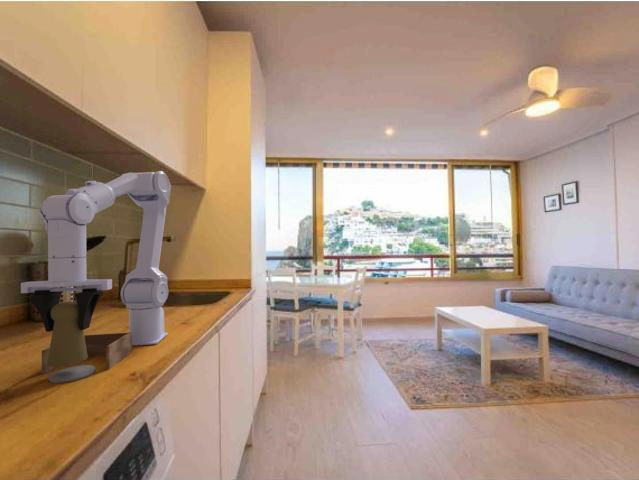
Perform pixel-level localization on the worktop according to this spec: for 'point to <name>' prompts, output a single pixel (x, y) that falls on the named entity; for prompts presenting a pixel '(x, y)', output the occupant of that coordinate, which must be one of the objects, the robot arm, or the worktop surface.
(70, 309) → the pepper mill
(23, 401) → the worktop surface
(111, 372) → the worktop surface
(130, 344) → the open wooden enclosure
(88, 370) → the coaster
